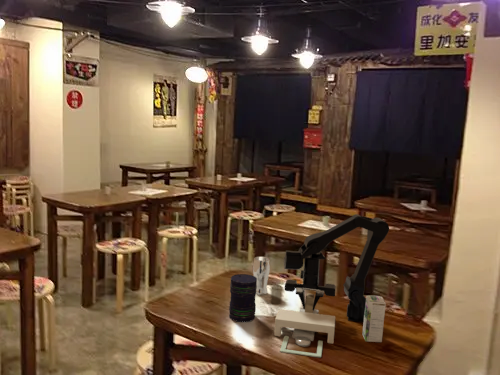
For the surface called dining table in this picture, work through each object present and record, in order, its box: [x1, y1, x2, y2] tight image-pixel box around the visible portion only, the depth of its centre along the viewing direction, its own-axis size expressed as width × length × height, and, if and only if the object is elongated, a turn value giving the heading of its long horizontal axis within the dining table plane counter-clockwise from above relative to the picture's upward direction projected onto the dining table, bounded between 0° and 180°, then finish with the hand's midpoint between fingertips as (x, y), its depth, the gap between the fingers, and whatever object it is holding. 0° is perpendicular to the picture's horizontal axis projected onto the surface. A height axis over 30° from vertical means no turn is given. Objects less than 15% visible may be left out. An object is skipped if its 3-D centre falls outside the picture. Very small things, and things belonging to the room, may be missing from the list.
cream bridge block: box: [273, 308, 336, 344], centre depth 166 cm, size 20×9×6 cm, turn 79°
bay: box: [279, 335, 324, 359], centre depth 156 cm, size 13×11×1 cm
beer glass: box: [252, 256, 271, 296], centre depth 203 cm, size 7×7×15 cm
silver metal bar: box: [292, 293, 319, 342], centre depth 173 cm, size 24×7×8 cm, turn 168°
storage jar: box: [228, 273, 257, 323], centre depth 177 cm, size 10×10×15 cm
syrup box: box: [362, 295, 387, 343], centre depth 164 cm, size 6×6×14 cm
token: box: [295, 336, 312, 348], centre depth 159 cm, size 5×5×2 cm
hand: (308, 309), depth 180 cm, fingers closed on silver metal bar, 3 cm apart
